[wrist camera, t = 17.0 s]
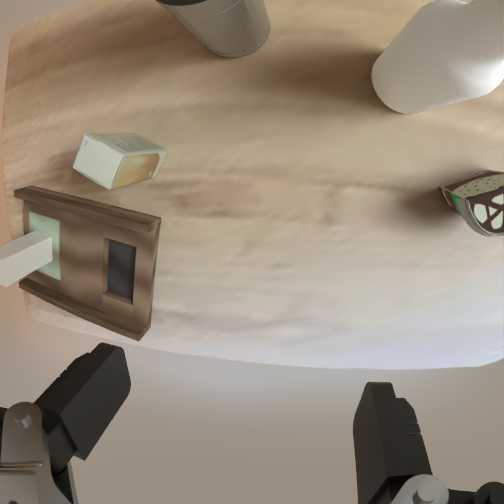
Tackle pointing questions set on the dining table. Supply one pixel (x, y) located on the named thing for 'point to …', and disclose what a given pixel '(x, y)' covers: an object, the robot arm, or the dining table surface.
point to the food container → (479, 201)
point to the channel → (94, 259)
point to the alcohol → (443, 56)
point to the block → (24, 256)
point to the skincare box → (118, 158)
